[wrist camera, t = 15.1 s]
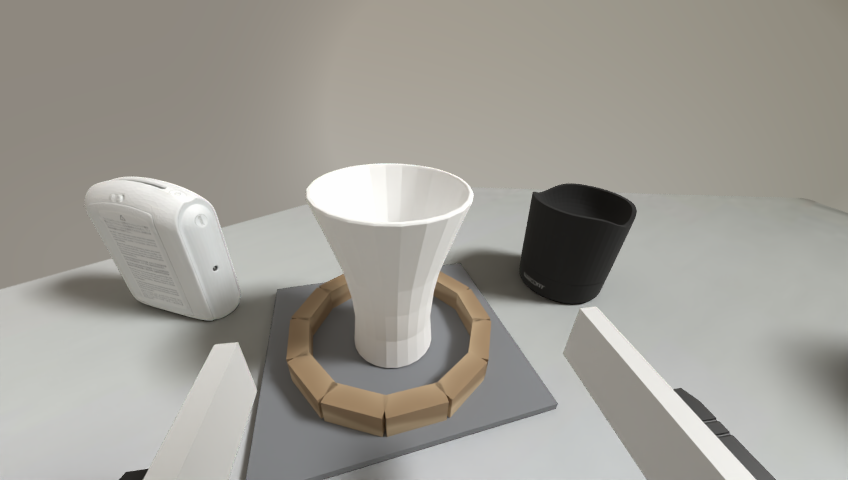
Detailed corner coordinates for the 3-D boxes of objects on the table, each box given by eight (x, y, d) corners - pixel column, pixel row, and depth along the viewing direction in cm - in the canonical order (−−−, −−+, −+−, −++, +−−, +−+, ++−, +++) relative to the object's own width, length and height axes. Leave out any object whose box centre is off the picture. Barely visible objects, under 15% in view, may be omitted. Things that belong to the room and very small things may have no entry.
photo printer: (251, 297, 31) (214, 179, 25) (216, 328, 28) (162, 198, 21) (170, 278, 33) (118, 164, 27) (128, 304, 30) (56, 180, 24)
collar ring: (447, 270, 35) (448, 255, 34) (525, 397, 22) (531, 379, 21) (297, 292, 31) (294, 276, 30) (284, 466, 18) (277, 448, 17)
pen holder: (511, 254, 40) (526, 179, 35) (586, 261, 39) (613, 186, 34) (520, 302, 32) (543, 214, 27) (616, 313, 31) (657, 225, 26)
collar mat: (459, 267, 37) (460, 263, 37) (555, 408, 22) (557, 403, 22) (278, 293, 32) (277, 289, 31) (245, 503, 17) (242, 498, 17)
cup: (324, 403, 21) (289, 229, 14) (333, 301, 30) (315, 163, 23) (470, 382, 23) (500, 219, 16) (439, 291, 32) (450, 162, 25)
